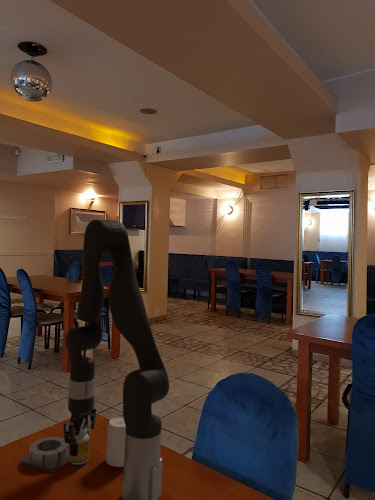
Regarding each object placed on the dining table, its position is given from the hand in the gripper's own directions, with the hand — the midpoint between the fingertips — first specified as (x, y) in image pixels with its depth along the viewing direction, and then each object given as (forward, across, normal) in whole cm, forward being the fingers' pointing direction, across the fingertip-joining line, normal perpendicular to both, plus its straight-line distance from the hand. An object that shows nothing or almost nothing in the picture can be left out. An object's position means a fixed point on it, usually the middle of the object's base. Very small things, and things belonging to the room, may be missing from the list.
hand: (79, 450), depth 118 cm
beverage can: (+4, +5, -11) cm, 12 cm away
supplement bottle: (+3, 0, 0) cm, 3 cm away
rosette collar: (+3, -2, +9) cm, 10 cm away
